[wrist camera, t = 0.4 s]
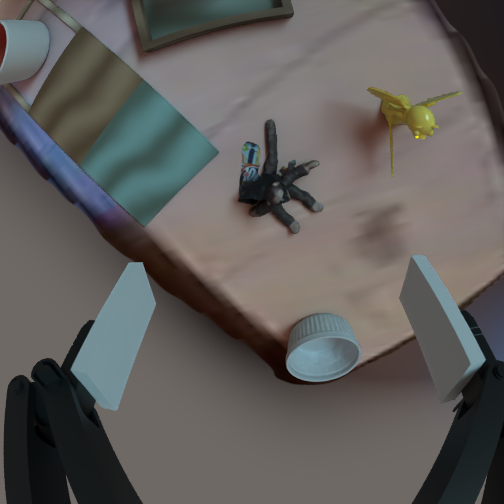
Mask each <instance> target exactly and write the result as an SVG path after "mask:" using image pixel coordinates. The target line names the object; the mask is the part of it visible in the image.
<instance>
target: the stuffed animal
mask: <svg viewBox="0 0 504 504" xmlns="http://www.w3.org/2000/svg"><path fill="white" fill-rule="evenodd" d="M266 131H267V149H268V156H267V159H266V162H265V164H264V172H263V174H262V176H261V177H260V176H259V175H258V169H259V157H260V148H259V146H258V145H256V144H254V143H252V142H246V143H245V144H244V145H243V148H242V169H241V175H240V183H239V193H240V197H239V199H238V201H239V202H242V203H243V202H244V203H247V204H251V205H254V204H256V203H257V202H258V200H260V202H259V203H258V204H257V205H256V206H254V207H253V208H252V209H251V210H250V212H249V214H250V215H251V216H252V217H261V216H262V215H265V214H267V213H269V212H271V211H272V212H273V214H274V215H275V216H276V217H277V218H278V219H279V220H280V221H281V222H282V223H284V224H285V226H287V227H289V228H290V230H291V232H292V233H293V234H297V233H298V232H299V228H300V226H299V223H298V222H297V221H295V219H294V218H293V217H292V216H291V215H289V214H288V213H287V212H286V211H285V210H284V208H283V207H282V203H285V202H288V201H290V197H291V198H294V199H297V200H300V201H302V203H303V204H304V205H305V206H306V207H307V208H308V209H310V210H312V211H313V212H321V211H322V210H323V205H321V204H320V203H318V202H316V201H315V199H314V198H313V197H312V196H310V194H309V193H308V192H306V191H302V190H300V189H299V188H298V187H296V186H295V185H293V184H292V183H293V182H294V181H295V180H296V179H298V178H300V177H303V176H305V175H308V173H309V171H310V170H311V169H312V168H314V167H317V166H319V164H320V163H319V161H315V160H313V161H310V162H308V163H306V164H302V165H299V166H297V167H296V168H294V166H295V164H296V161H295V160H293V161H290V162H289V164H288V168H285V167H284V166H283V167H282V168H281V169H280V170H279V171H280V172H281V173H282V174H284V175H282V176H281V177H280V176H279V175H276V171H277V163H278V160H277V135H276V128H275V123H274V121H273V120H272V119H270V120H268V121H267V123H266Z"/></svg>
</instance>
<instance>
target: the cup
mask: <svg viewBox="0 0 504 504" xmlns="http://www.w3.org/2000/svg"><path fill="white" fill-rule="evenodd" d="M49 45H50V35H49V31H48V29H47V27H46V26H45V25H44V24H43V23H42V22H39V21H32V20H0V85H3V84H8V83H12V82H17V81H22V80H26V79H28V78H30V77H31V76H33V75H34V74H35V73H36V72H37V71H38V70H39V69H40V68H41V66H42V65H43V63H44V61H45V59H46V57H47V54H48V50H49Z"/></svg>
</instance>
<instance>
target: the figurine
mask: <svg viewBox="0 0 504 504" xmlns="http://www.w3.org/2000/svg"><path fill="white" fill-rule="evenodd" d="M367 91H369V92H370V93H371V94H373V95H375V96H376V97H379V98H381V99H382V100H383V102H382V107H381V112H382V113H383V114H384V115H385V118H386V120H387V121H388V125H390V148H391V168H392V177H393V138H392V126H393V125H398V124H399V125H400V124H404V125H407V126H408V127H409V129H410V130H411V131H412V133H413V135H414V138H417V139H426V135H428V136H432V135H433V129H434V128H439V126H437V125H435V118H434V115H433V113H432V112H431V111H430V110H429V109H428V108H427V107H429V106H432V105H435V104H436V102H438V101H441V100H444V99H447V98H450V97H453V96H456V95H459V94H461V93H462V91H460V92H458V91H456V92H451V93H448V94H443V95H441V96H437V97H434V98H431V99H430V98H428V100H426V101H423V102H420V103H418V104H416V105H413V106H412V105H411V103H410V101H409V99H408V98H407V97H406V96H405V95H403V94H402V95H399V96H394V95H392V94H390V93H388V92H386V91H383V90H380V89H377V88H374V87H370V88H368V89H367ZM391 125H392V126H391ZM393 128H394V126H393Z"/></svg>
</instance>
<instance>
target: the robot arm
mask: <svg viewBox="0 0 504 504" xmlns="http://www.w3.org/2000/svg"><path fill="white" fill-rule="evenodd" d="M399 299H400V301H401V303H402V305H403V307H404V310H405V312H406V314H407V316H408V319H409V321H410V323H411V326H412V328H413V330H414V333H415V335H416V338H417V340H418V342H419V345H420V348H421V350H422V353H423V355H424V358H425V360H426V363H427V366H428V368H429V371H430V374H431V377H432V380H433V382H434V385H435V388H436V391H437V394H438V397H439V400H440V403H444V402H448V401H451V400H455V399H456V397H457V396H458V395H459V394H460V393H461V392H462V395H463V399H462V400H461V401H460V402H459V403H458V404H457V406H456V407H455V408H454V409H453V412H455V411H456V410H457V409H458V410H457V413H456V415H455V418H454V421H453V423H452V426H451V428H450V431H449V433H448V435H447V438H446V440H445V442H444V444H443V446H442V449H441V451H440V453H439V455H438V457H437V459H436V461H435V463H434V465H433V467H432V469H431V471H430V473H429V475H428V476H427V478H426V480H425V482H424V484H423V486H422V487H421V489H420V491H419V493H418V494H417V496H416V498H415V499H414V501H413V502H412V504H475V501H476V499H477V497H478V495H479V492H480V490H481V488H482V486H483V483H484V481H485V478H486V476H487V479H486V484H485V489H484V494H483V498H482V502H481V504H504V362H503V361H499V360H496V359H495V357H494V355H493V353H492V351H491V349H490V347H489V345H488V343H487V341H486V339H485V337H484V336H483V335H482V332H481V330H480V328H478V325H477V323H476V321H475V320H474V318H473V317H472V316H471V315H470V314H469V313H468V312H467V311H466V310H462V311H460V310H459V309H458V307H457V305H456V304H455V302H454V300H453V299H452V297H451V295H450V294H449V292H448V290H447V289H446V287H445V286H444V284H443V282H442V281H441V279H440V278H439V276H438V275H437V273H436V272H435V270H434V269H433V267H432V266H431V264H430V263H429V261H428V260H427V258H426V257H425V255H411V259H410V263H409V267H408V270H407V274H406V277H405V281H404V284H403V287H402V291H401V294H400V297H399ZM155 306H156V302H155V299H154V296H153V293H152V290H151V288H150V284H149V281H148V278H147V275H146V272H145V269H144V266H143V263H142V262H140V263H129V264H128V265H127V267H126V269H125V270H124V272H123V273H122V275H121V277H120V279H119V280H118V282H117V283H116V285H115V287H114V289H113V290H112V292H111V294H110V296H109V297H108V299H107V301H106V302H105V304H104V306H103V308H102V310H101V312H100V313H99V315H98V317H97V319H96V321H95V320H89V321H88V322H87V323H86V324H85V325H84V326H83V327H82V328H81V330H80V332H79V334H78V335H77V338H76V339H75V341H74V343H73V345H72V346H71V348H70V350H69V353H68V354H67V356H66V358H65V360H64V362H63V364H62V366H61V368H60V367H59V365H58V364H57V363H56V361H54V360H53V359H50V358H46V359H42V360H41V361H39V362H37V364H36V365H35V366H34V367H33V370H32V373H31V378H32V379H33V380H34V381H35V382H30V381H29V379H28V378H27V377H25V376H24V375H19V376H16V377H14V379H12V380H11V382H10V383H9V385H8V389H7V398H6V408H5V422H4V478H5V491H6V500H7V504H71V502H70V497H69V491H68V486H67V480H66V476H67V478H68V481H69V483H70V486H71V488H72V490H73V493H74V495H75V498H76V500H77V502H78V504H143V503H142V501H141V500H140V498H139V496H138V495H137V493H136V491H135V490H134V488H133V486H132V485H131V483H130V481H129V479H128V478H127V475H126V474H125V472H124V470H123V468H122V466H121V464H120V462H119V460H118V459H117V456H116V454H115V452H114V450H113V448H112V446H111V444H110V442H109V439H108V437H107V435H106V433H105V430H104V428H103V426H102V423H101V421H100V419H99V416H98V414H97V411H96V409H95V408H94V404H95V402H96V401H97V403H98V404H99V405H100V406H101V407H103V408H107V409H112V410H116V411H117V409H118V406H119V403H120V400H121V396H122V394H123V391H124V388H125V385H126V382H127V380H128V377H129V374H130V371H131V368H132V365H133V363H134V359H135V357H136V354H137V352H138V349H139V347H140V344H141V341H142V339H143V336H144V334H145V331H146V328H147V326H148V323H149V321H150V318H151V316H152V313H153V311H154V308H155Z"/></svg>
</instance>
